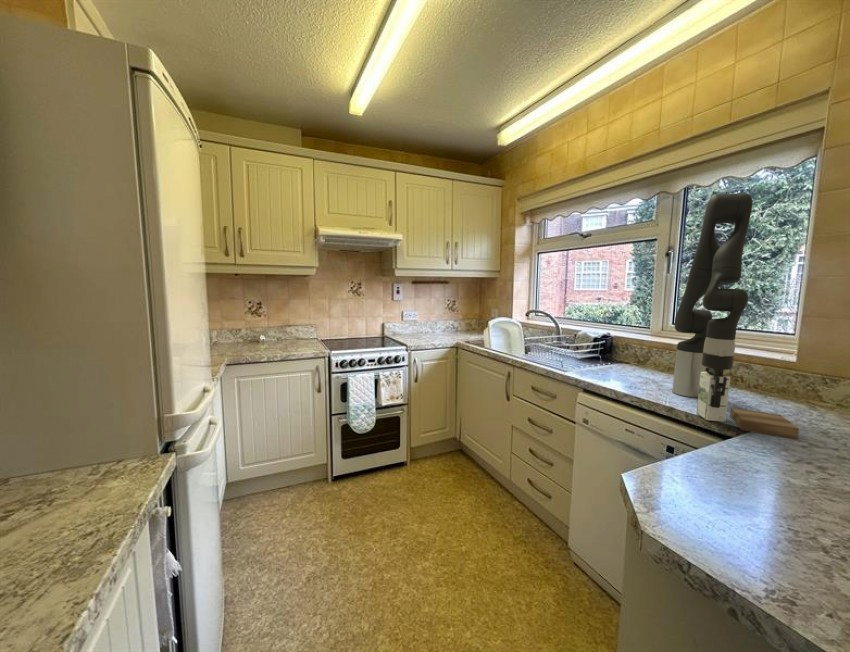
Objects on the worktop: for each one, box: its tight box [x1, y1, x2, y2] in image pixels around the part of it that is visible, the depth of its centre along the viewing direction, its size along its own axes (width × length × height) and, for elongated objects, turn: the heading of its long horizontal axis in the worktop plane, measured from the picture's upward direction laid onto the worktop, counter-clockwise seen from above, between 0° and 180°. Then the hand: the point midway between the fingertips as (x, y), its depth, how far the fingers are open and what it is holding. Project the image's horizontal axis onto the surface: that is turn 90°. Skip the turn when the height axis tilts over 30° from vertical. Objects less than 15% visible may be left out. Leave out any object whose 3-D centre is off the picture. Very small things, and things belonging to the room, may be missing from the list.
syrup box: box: [696, 371, 731, 423], centre depth 113 cm, size 6×6×14 cm
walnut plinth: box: [729, 407, 800, 440], centre depth 107 cm, size 12×12×3 cm
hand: (712, 403), depth 113 cm, fingers closed on syrup box, 6 cm apart
